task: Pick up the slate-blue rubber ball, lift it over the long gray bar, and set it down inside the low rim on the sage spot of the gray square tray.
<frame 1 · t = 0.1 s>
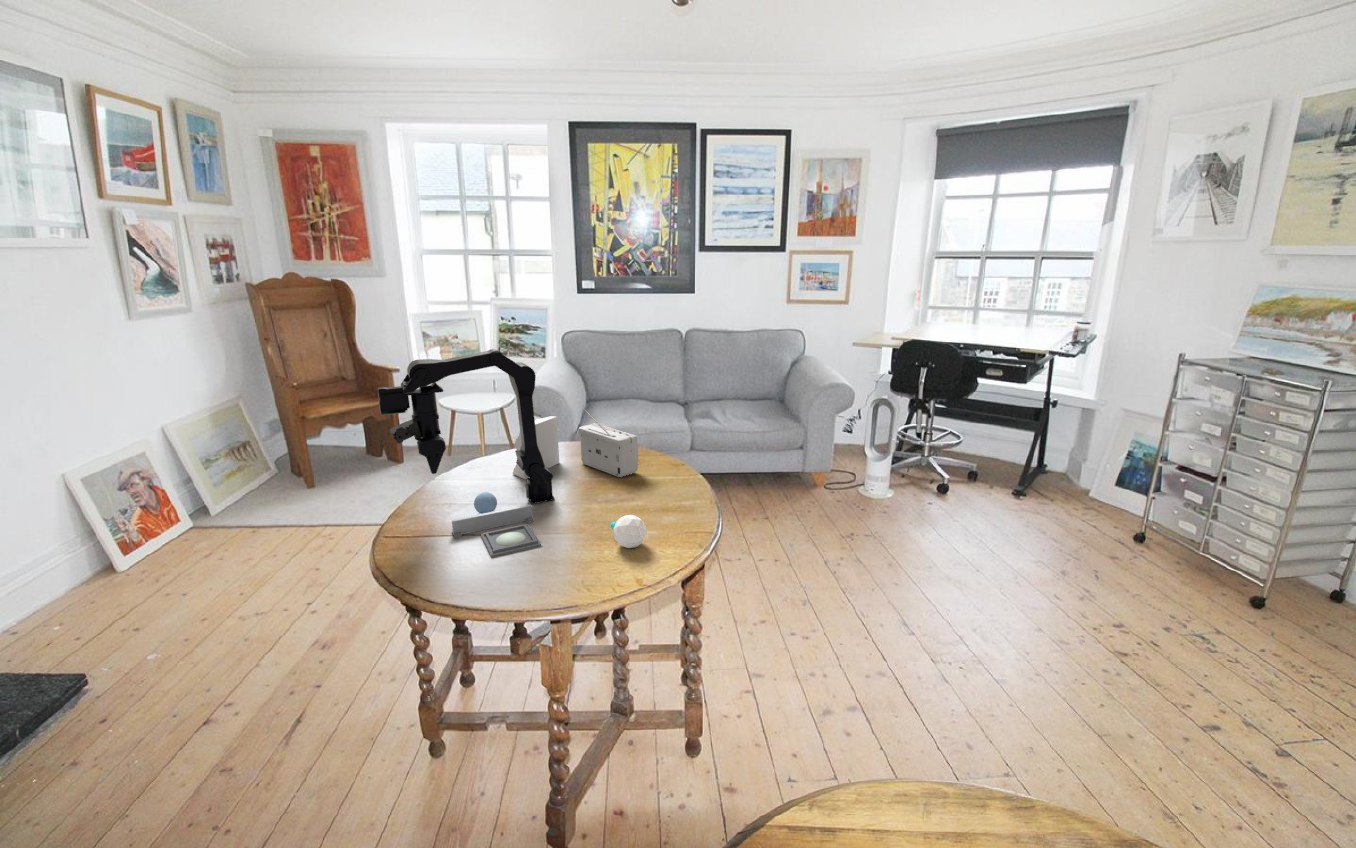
hand: (432, 467, 154), 14 cm above the table, fingers open, 9 cm apart
ball: (486, 513, 162), on the table
gray square tray: (510, 541, 147), on the table
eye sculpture: (536, 467, 196), on the table
stereo radio cassette player: (608, 469, 195), on the table
long gray bar: (493, 526, 154), on the table
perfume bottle: (626, 543, 147), on the table
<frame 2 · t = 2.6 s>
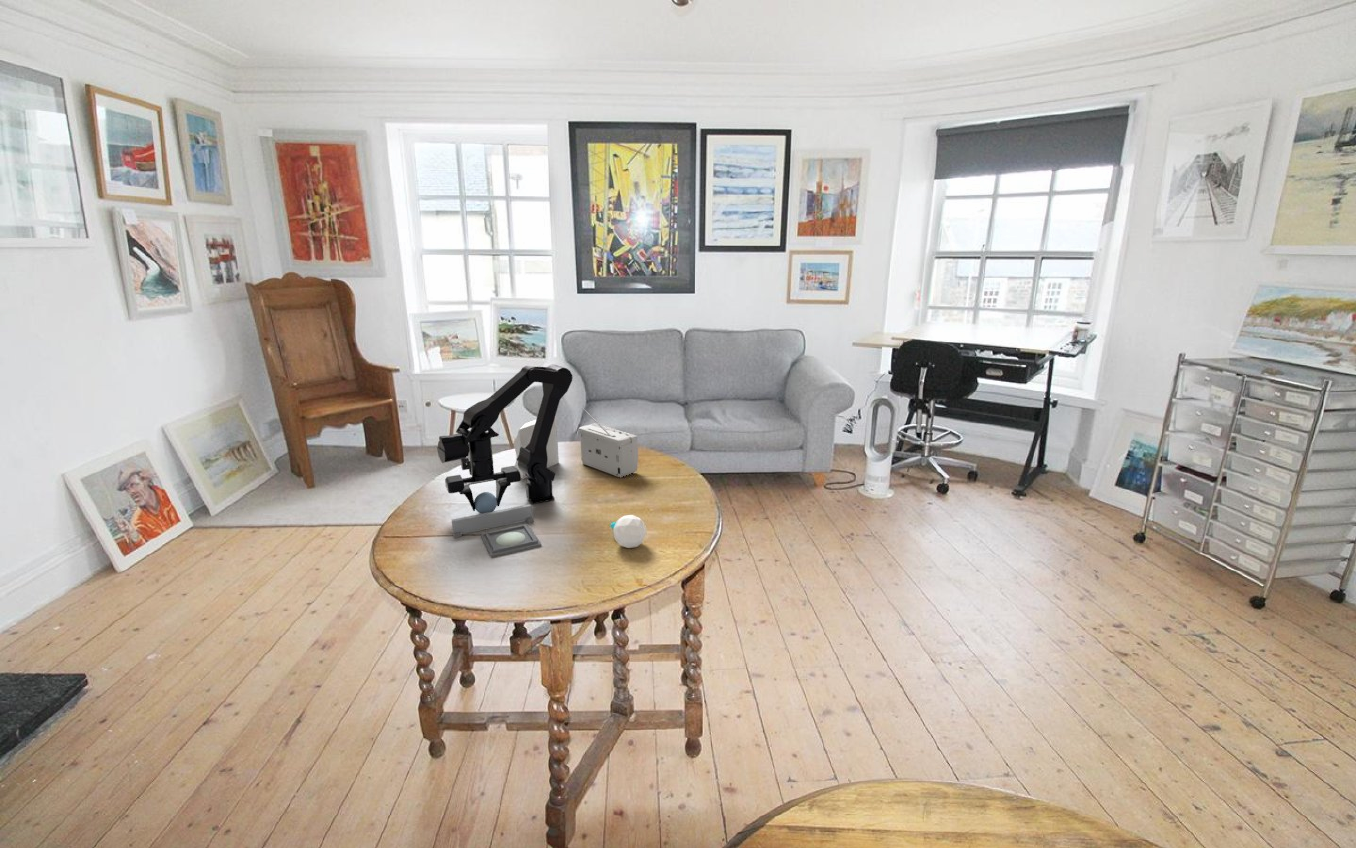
hand: (486, 508, 161), 2 cm above the table, fingers closed on ball, 6 cm apart
ball: (486, 513, 162), on the table, touching gripper
everything else where it was.
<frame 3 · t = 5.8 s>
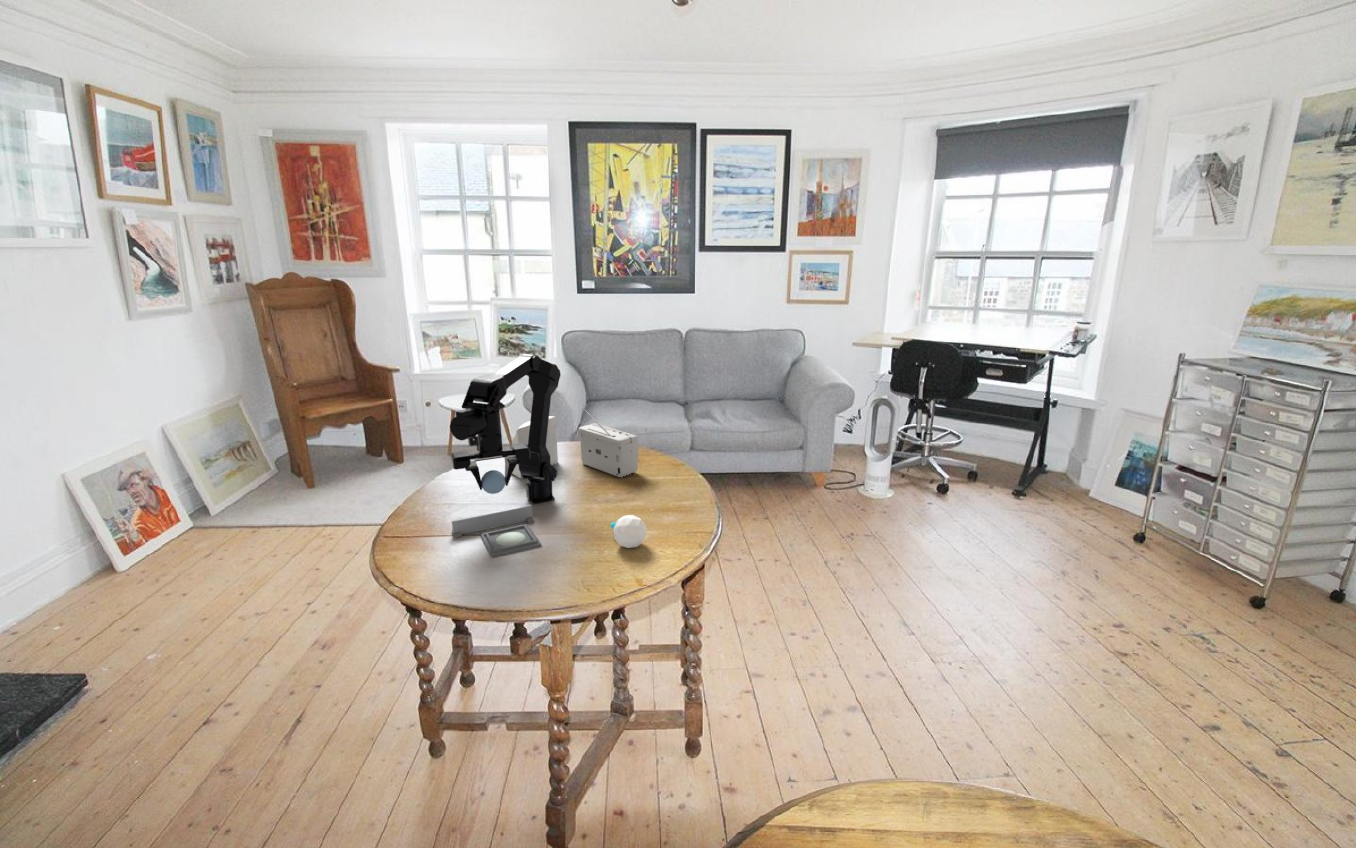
hand: (493, 487, 151), 11 cm above the table, fingers closed on ball, 6 cm apart
ball: (494, 492, 151), point 10 cm above the table, touching gripper
everything else where it was.
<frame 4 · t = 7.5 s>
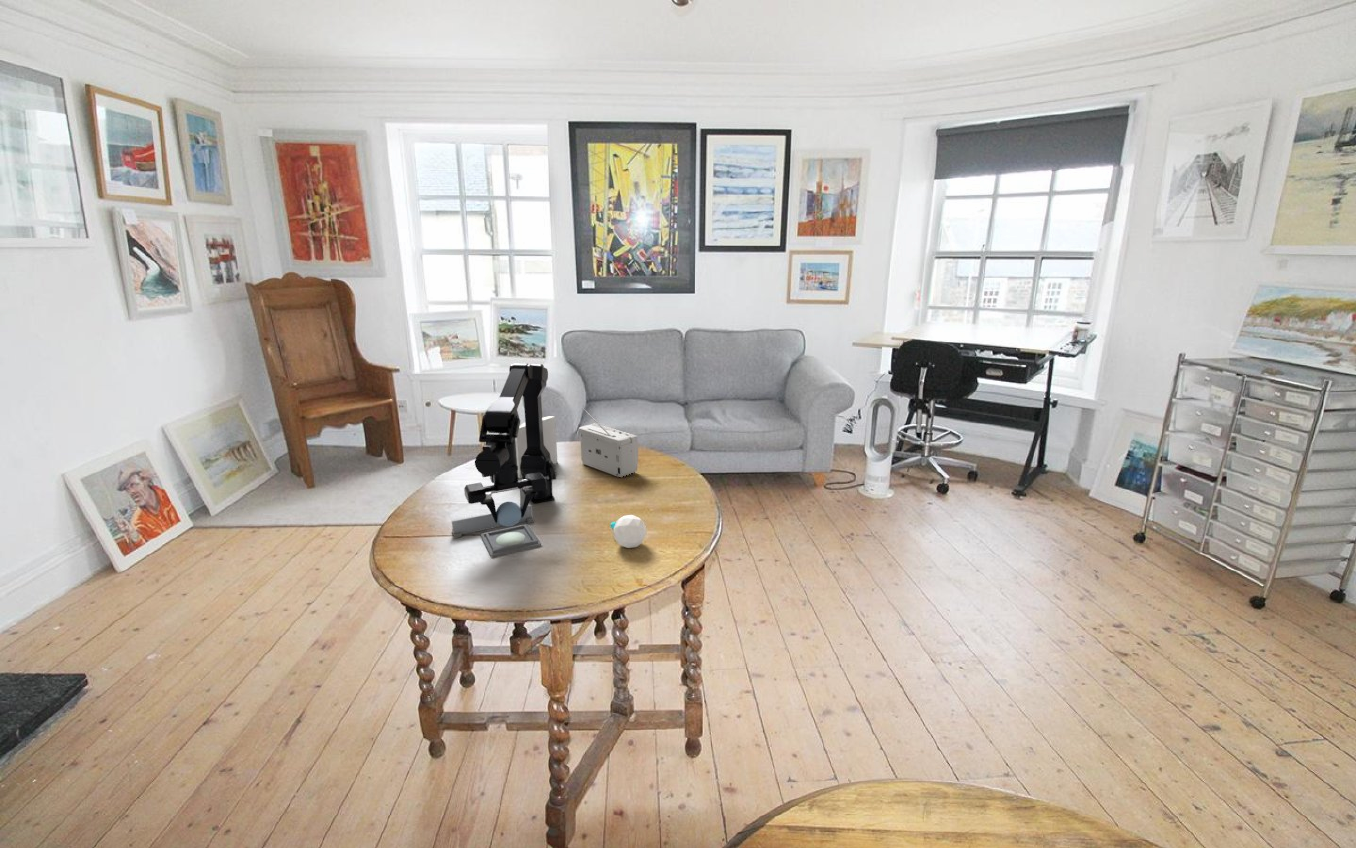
hand: (509, 519, 145), 6 cm above the table, fingers closed on ball, 6 cm apart
ball: (509, 525, 146), point 4 cm above the table, touching gripper
when the fingers open (3 cm above the table, at t = 8.8 s): ball drops 1 cm, resting on gray square tray.
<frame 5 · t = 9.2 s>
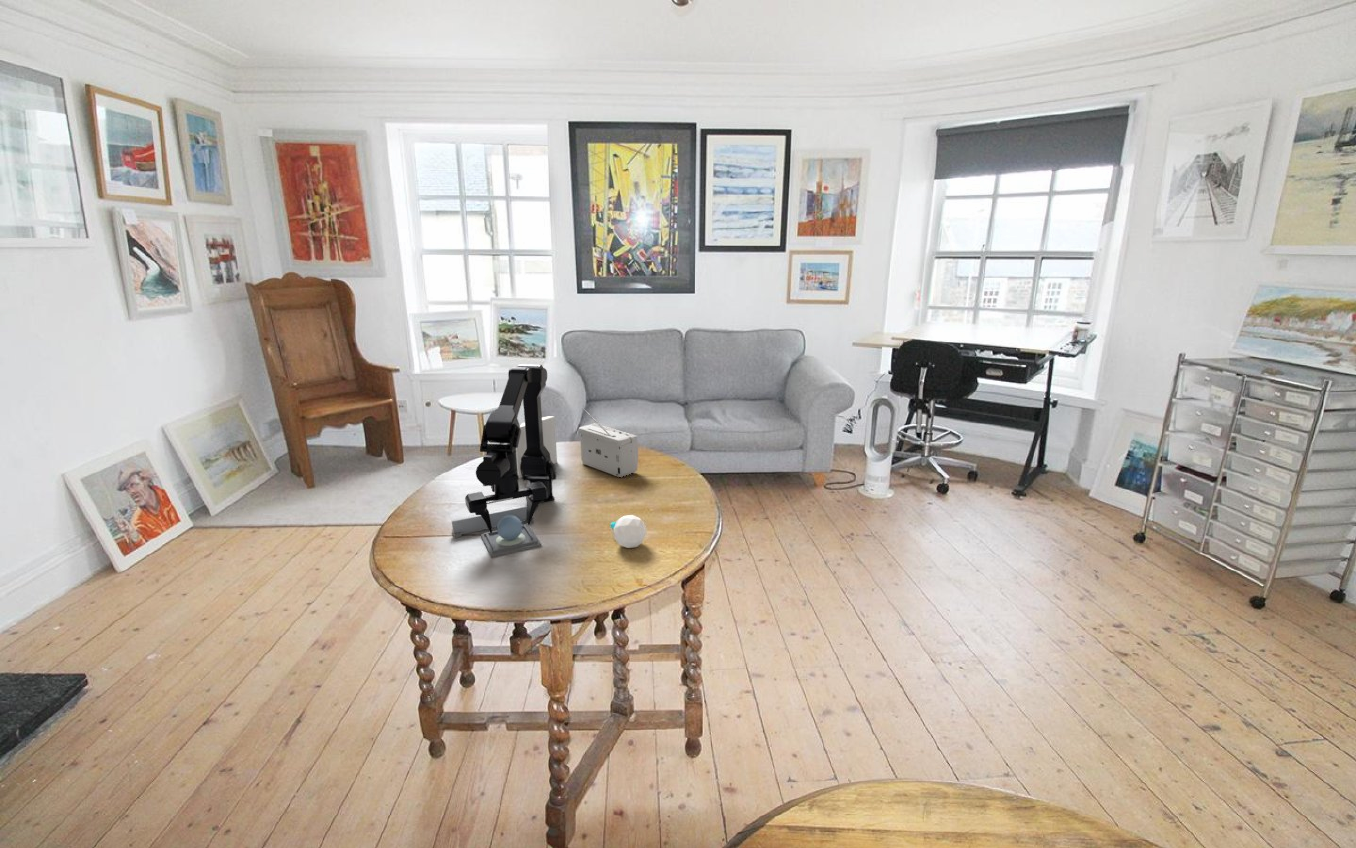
hand: (509, 528, 146), 3 cm above the table, fingers open, 9 cm apart
ball: (510, 538, 147), point 1 cm above the table, touching gray square tray
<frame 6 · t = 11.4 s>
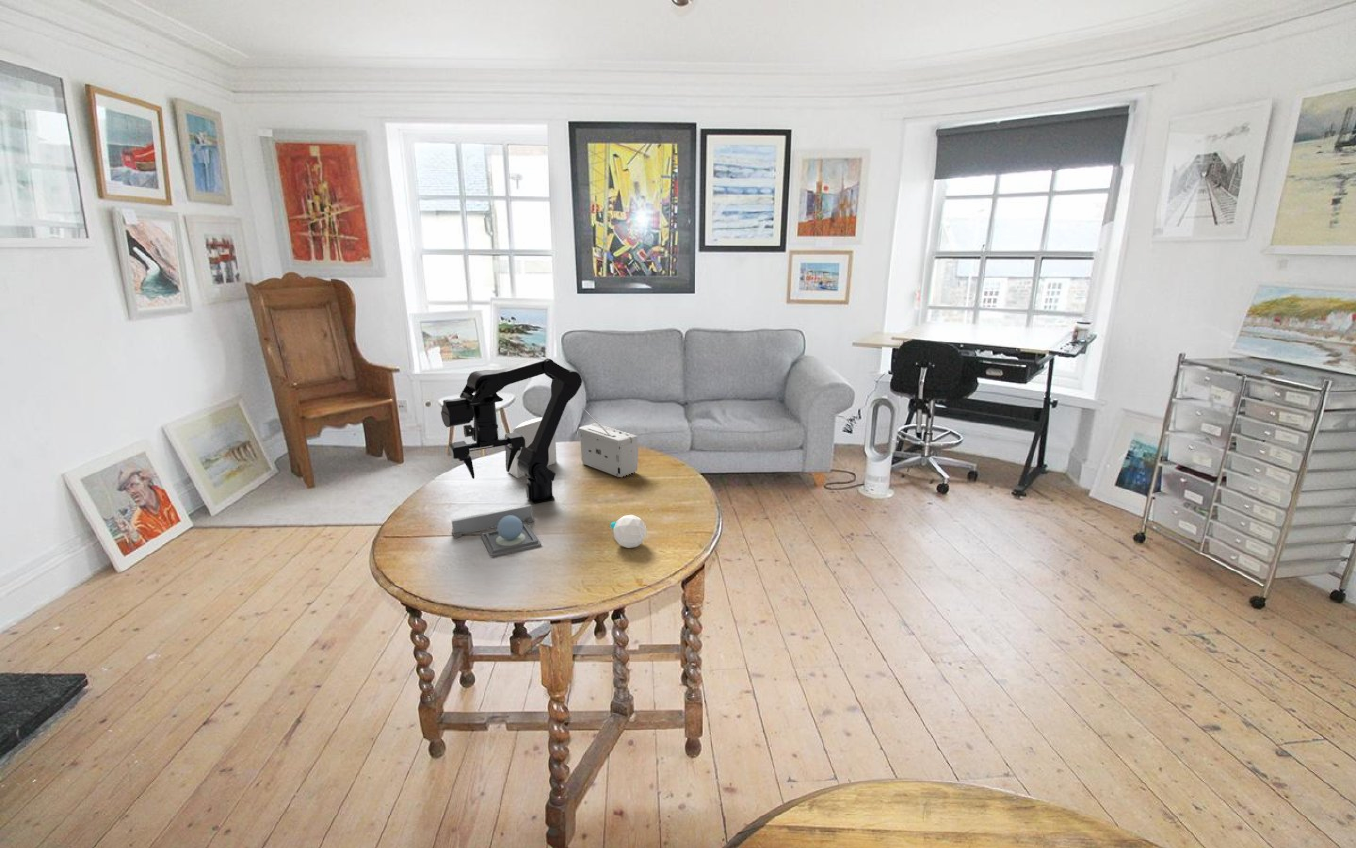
hand: (490, 474, 160), 11 cm above the table, fingers open, 9 cm apart
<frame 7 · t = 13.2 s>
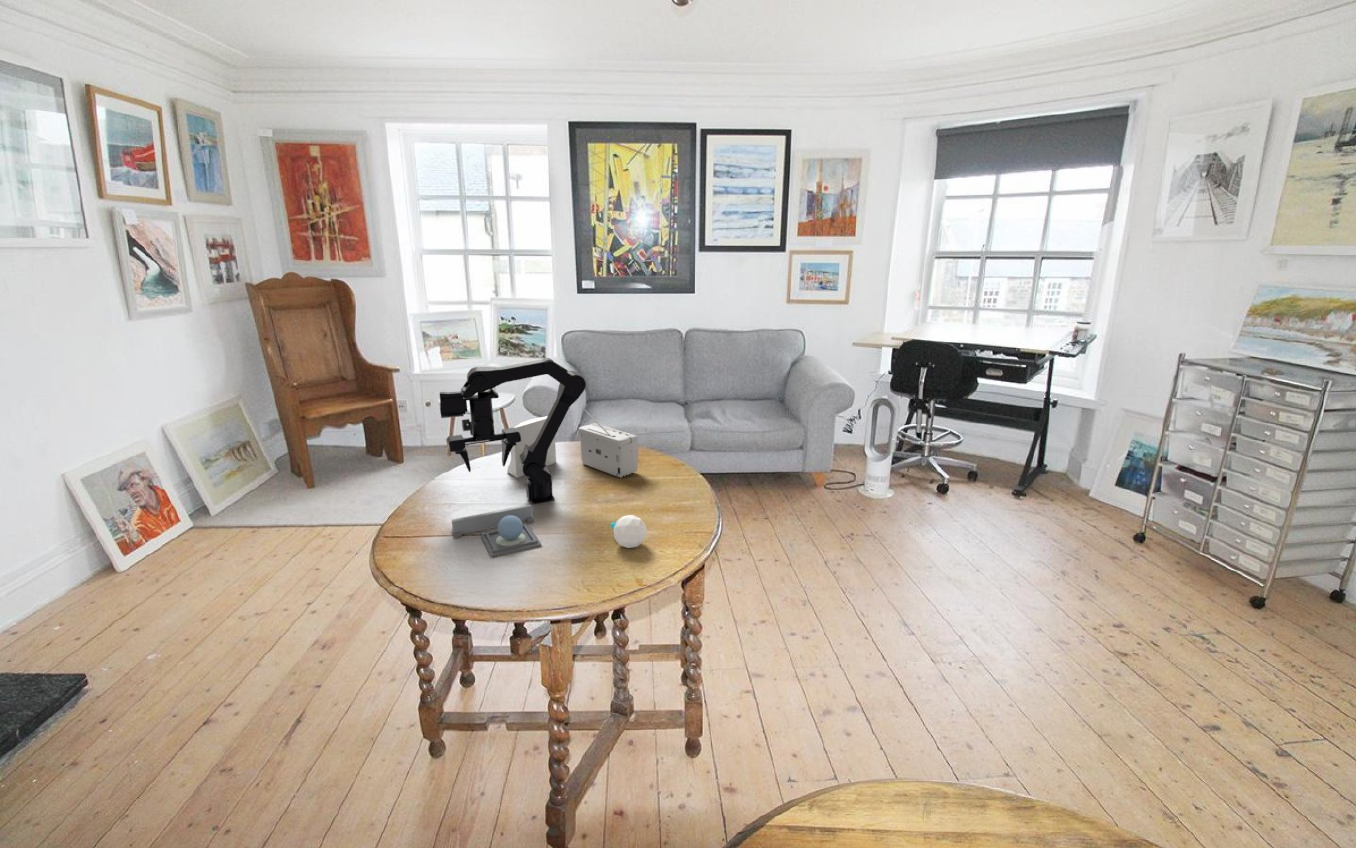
hand: (486, 468, 164), 11 cm above the table, fingers open, 9 cm apart
at the end: ball 0.0 cm off-centre on the gray square tray, point 0.7 cm above the gray square tray's base; the gripper is holding nothing; ball moved 19.1 cm from its start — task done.
